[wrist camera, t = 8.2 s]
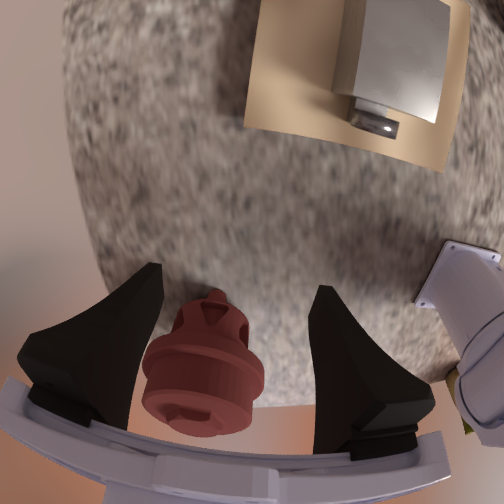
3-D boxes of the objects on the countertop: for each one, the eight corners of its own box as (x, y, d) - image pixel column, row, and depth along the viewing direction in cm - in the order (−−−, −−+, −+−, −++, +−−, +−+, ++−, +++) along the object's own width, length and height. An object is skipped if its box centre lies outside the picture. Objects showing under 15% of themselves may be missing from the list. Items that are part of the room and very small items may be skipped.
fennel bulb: (465, 356, 32) (490, 418, 22) (474, 362, 34) (496, 419, 24) (438, 377, 35) (457, 438, 25) (448, 381, 36) (467, 438, 26)
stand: (452, 9, 10) (470, 5, 8) (426, 163, 18) (442, 173, 16) (272, -51, 10) (273, -66, 8) (246, 121, 18) (243, 126, 16)
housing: (414, -1, 10) (450, -16, 6) (392, 135, 15) (427, 152, 11) (347, -26, 9) (371, -53, 6) (326, 117, 15) (345, 128, 11)
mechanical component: (166, 334, 30) (165, 263, 25) (254, 350, 31) (276, 284, 25) (137, 433, 20) (114, 382, 14) (249, 453, 20) (278, 413, 15)
